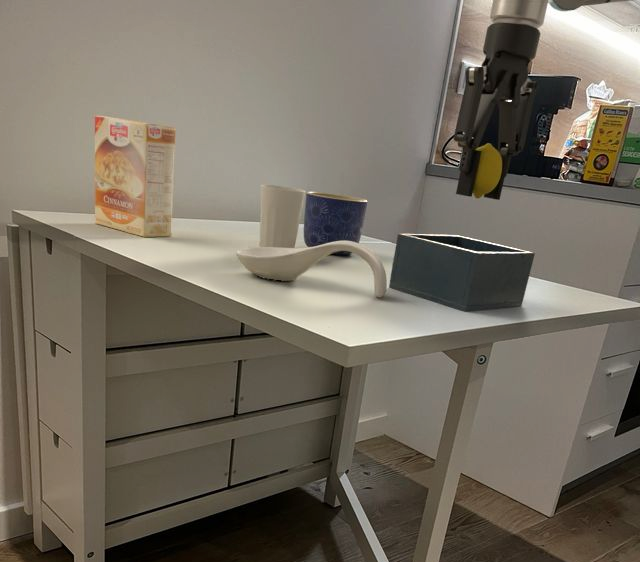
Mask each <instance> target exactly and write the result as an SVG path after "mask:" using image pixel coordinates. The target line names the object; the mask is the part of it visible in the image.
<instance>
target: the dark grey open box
mask: <svg viewBox="0 0 640 562" xmlns="http://www.w3.org/2000/svg"><path fill="white" fill-rule="evenodd" d="M395 243H396V244H395V247H394V248H395V250H394V255H393V260H392V266H391V272H390V278H389V285H388V288H390V289H394V290H397V291H400V292H403V293H406V294H409V295H412V296H415V297H418V298H421V299H424V300H428V301H431V302H434V303H437V304H439V305H440V304H441V305H443V306H446V307H450V308H453V309H456V310H459V311H461V312H474V311H484V310H485V311H486V310H495V309H505V308H506V309H507V308H515V307H522V306H523V302H524V299H525V295H526V290H527V286H528V282H529V279H530V275H531V270H532V266H533V263H534V258H535V252H532V251H527V250H524V249H519V248H514V247H510V246H506V245H502V244H498V243H492V242H489V241H483V240H480V239H475V238H470V237H466V236H462V235H458V234H428V233H427V234H425V233H397V237H396V242H395Z"/></svg>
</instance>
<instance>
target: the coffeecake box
mask: <svg viewBox="0 0 640 562" xmlns="http://www.w3.org/2000/svg"><path fill="white" fill-rule="evenodd" d="M176 129H177V128H176V126H170V125H163V124H155V123H149V122H143V121H138V120H131V119H126V118H117V117H112V116H111V117H110V116H106V115H105V116H104V115H94V224H96V225H100V226H104V227H108V228H111V229H114V230H118V231H122V232H124V233H129V234H131V235H136V236H138V237H142V236H143V238H157V237H159V238H161V237H172V225H173V203H174V202H173V200H174V199H173V198H174V179H175V178H174V177H175V153H176V131H177V130H176Z"/></svg>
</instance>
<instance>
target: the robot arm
mask: <svg viewBox="0 0 640 562" xmlns="http://www.w3.org/2000/svg"><path fill="white" fill-rule="evenodd" d="M630 1H633V0H492V4H491V10H490V14H489V20H490V22H491V23H490V24H489V26H487V28H486V33H485V38H484V43H483V47H482V53H483V54H484V56H485V58H484V59H483V62H482V63H481V65H480V66H479V65H478V66H466V68H465V73H464V74H465V77H464V78H465V80H464V89H463V94H462V98H461V103H460V108H459V112H458V116H457V120H456V125H455V130H454V134H453V141H454V143H455V142H457V147H458V148H460V149H462V150H461V154H460V160H459V165H458V171H459V177H458V182H457V186H456V192H455V195H459V196H464V197H469V198H472V197H473V189H474V184H475V179H476V175H477V170H478V165H479V161H480V156H481V151H479V150H476V149H477V148H479V147H480V144H481V141H482V138H483V136H484V134H485V131H486V129H487V126H488V124H489V121H490V119H491V117H492V114H493V112H494V110H495V107H496V105H497V106H498V109H499V110H498V111H499V113H498V135H497V136H498V138H497V151H498V152H499V153H500V155H501V158H502V172H501V177H500V180H499V182H498V184H497V186H496V187H495V188H494V189H493V190H492V191H491V192H489V193H487V194H484V195H483V198H487V199H491V200H497V201H500V199H501V195H502V191H503V186H504V182H505V179H506V177H507V176H508V173H509V167H510V163H511V160H512V156H514V157H516V156H518V154H519V153H522V152H523V151H524V148H525V143H526V139H527V134H528V129H529V125H530V120H531V115H532V110H533V106H534V101H535V99H536V95H537V94H538V91H539V89H540V82H539V81H533V80H531V79H530V78H529V64H530V63H531V61H533V60H534V59H535V58H536V55H537V51H538V47H539V43H540V38H541V32H540V30H539V28H541V27H542V26H543V25H544V23H545V19H546V14H547V8H548V5H549V6H550V7H551V8H552V9H554V10H555V11H558V12H571V11H575V10H577V9H579V8H581V7H584V6H596V5H604V4H609V3H620V2H630Z"/></svg>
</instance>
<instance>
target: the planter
mask: <svg viewBox="0 0 640 562" xmlns="http://www.w3.org/2000/svg"><path fill="white" fill-rule="evenodd" d="M304 204H305V205H304V215H303V217H304V218H303V241H304V244H305V245H306V248H308V247H314V246H319V245H322V244H326V243H330V242H335V241H352V242H356V243H359V244H360V241H361V237H362V232H363V227H364V223H365V217H366V213H367V206H368V200H367V199H364V198H361V197H356V196H350V195H344V194H337V193H330V192H320V191H306V192H305V203H304ZM351 254H354V253H353V252H350V251H338V252H334V253H331V254H330V255H339V256H343V255H344V256H345V255H351Z"/></svg>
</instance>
